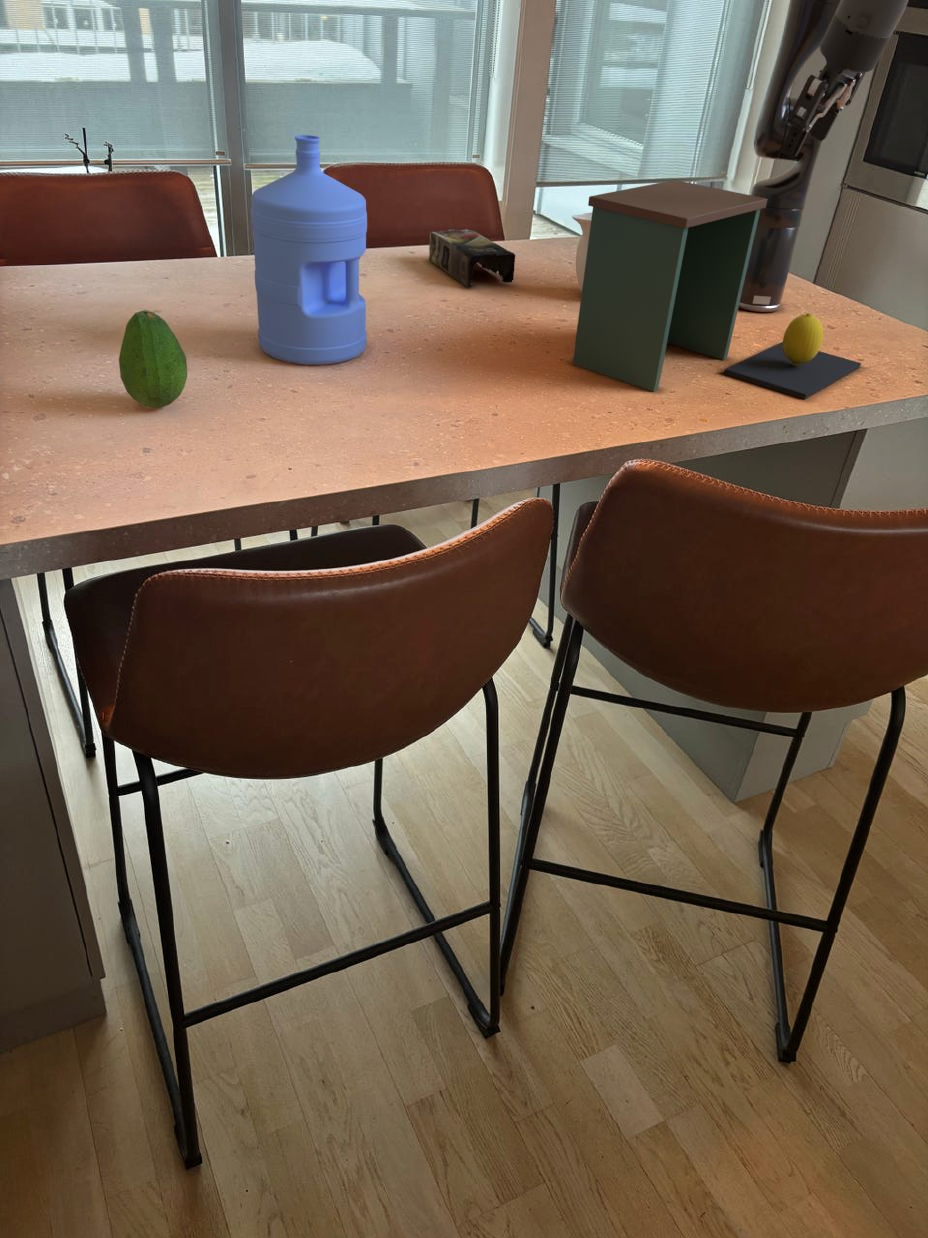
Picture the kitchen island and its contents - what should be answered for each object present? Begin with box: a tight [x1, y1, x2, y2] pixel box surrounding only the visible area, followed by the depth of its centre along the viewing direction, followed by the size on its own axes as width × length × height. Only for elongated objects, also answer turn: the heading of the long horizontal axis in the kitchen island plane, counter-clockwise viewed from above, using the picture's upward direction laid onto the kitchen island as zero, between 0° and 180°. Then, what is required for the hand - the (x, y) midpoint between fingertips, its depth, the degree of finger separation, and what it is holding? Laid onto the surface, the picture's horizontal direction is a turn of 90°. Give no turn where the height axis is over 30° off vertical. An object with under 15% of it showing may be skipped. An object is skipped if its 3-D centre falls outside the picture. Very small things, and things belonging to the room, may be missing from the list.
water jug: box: [250, 134, 368, 366], centre depth 132 cm, size 16×16×28 cm
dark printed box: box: [428, 228, 516, 288], centre depth 177 cm, size 20×10×6 cm, turn 24°
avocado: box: [118, 309, 188, 409], centre depth 116 cm, size 8×8×12 cm
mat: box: [723, 341, 862, 400], centre depth 144 cm, size 20×13×1 cm, turn 139°
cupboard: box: [572, 179, 767, 393], centre depth 138 cm, size 22×15×23 cm
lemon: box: [782, 312, 824, 366], centre depth 142 cm, size 6×6×8 cm
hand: (802, 145), depth 130 cm, fingers open, 8 cm apart
